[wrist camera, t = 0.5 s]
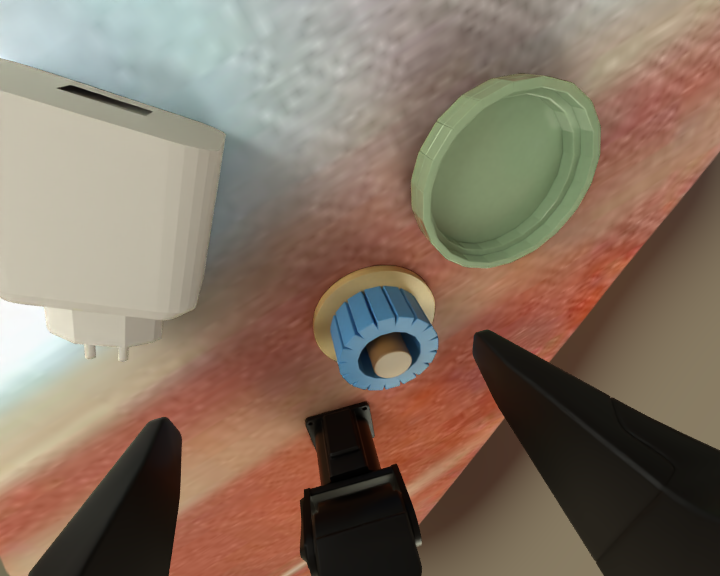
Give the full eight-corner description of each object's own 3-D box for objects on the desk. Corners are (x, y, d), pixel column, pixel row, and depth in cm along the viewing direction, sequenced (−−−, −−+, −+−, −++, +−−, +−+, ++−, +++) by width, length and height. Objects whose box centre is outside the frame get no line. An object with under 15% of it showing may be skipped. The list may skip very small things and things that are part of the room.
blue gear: (420, 343, 30) (437, 375, 27) (338, 365, 29) (347, 400, 26) (419, 275, 25) (439, 305, 22) (322, 299, 24) (330, 333, 21)
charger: (33, 323, 21) (-9, 51, 14) (194, 339, 25) (227, 129, 17) (-16, 383, 17) (-109, 55, 10) (182, 392, 21) (217, 153, 14)
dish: (548, 232, 26) (571, 248, 24) (410, 264, 25) (423, 284, 23) (591, 58, 20) (629, 60, 17) (404, 91, 18) (422, 98, 16)
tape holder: (430, 343, 31) (456, 389, 27) (325, 371, 30) (335, 423, 26) (432, 251, 25) (465, 292, 21) (299, 282, 24) (307, 332, 20)
